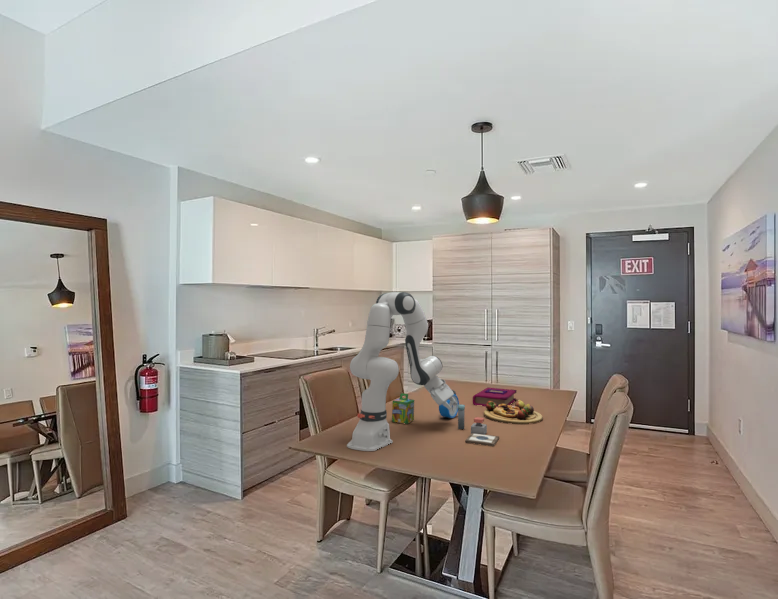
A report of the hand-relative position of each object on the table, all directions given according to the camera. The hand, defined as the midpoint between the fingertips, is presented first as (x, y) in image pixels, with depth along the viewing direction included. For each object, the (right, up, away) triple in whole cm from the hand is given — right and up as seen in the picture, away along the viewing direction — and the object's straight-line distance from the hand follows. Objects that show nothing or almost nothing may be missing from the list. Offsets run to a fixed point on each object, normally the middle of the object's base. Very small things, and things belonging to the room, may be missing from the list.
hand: (453, 406), depth 237 cm
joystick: (+4, -11, -2) cm, 11 cm away
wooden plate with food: (+36, -11, +23) cm, 45 cm away
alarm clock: (0, -11, +20) cm, 23 cm away
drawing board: (+11, -11, -21) cm, 26 cm away
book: (+35, -11, +59) cm, 69 cm away
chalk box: (-25, -11, +12) cm, 30 cm away
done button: (+11, -7, -10) cm, 17 cm away
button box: (+11, -11, -10) cm, 18 cm away
